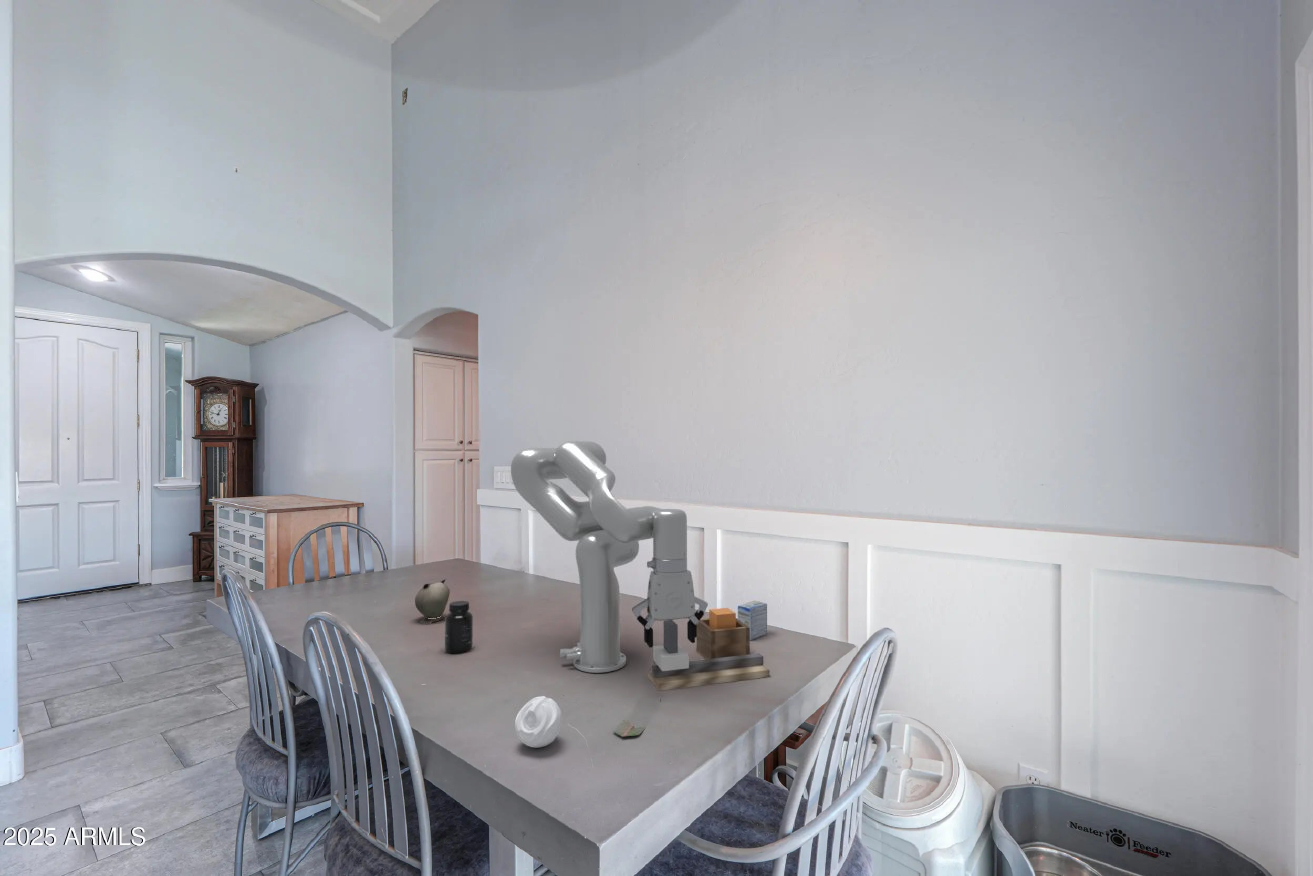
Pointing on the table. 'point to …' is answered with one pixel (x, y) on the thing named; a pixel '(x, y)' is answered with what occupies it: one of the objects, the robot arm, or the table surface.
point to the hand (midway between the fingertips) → (670, 643)
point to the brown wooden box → (722, 640)
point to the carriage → (670, 650)
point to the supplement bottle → (458, 628)
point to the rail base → (710, 672)
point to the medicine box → (754, 617)
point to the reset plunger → (722, 618)
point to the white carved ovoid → (538, 722)
